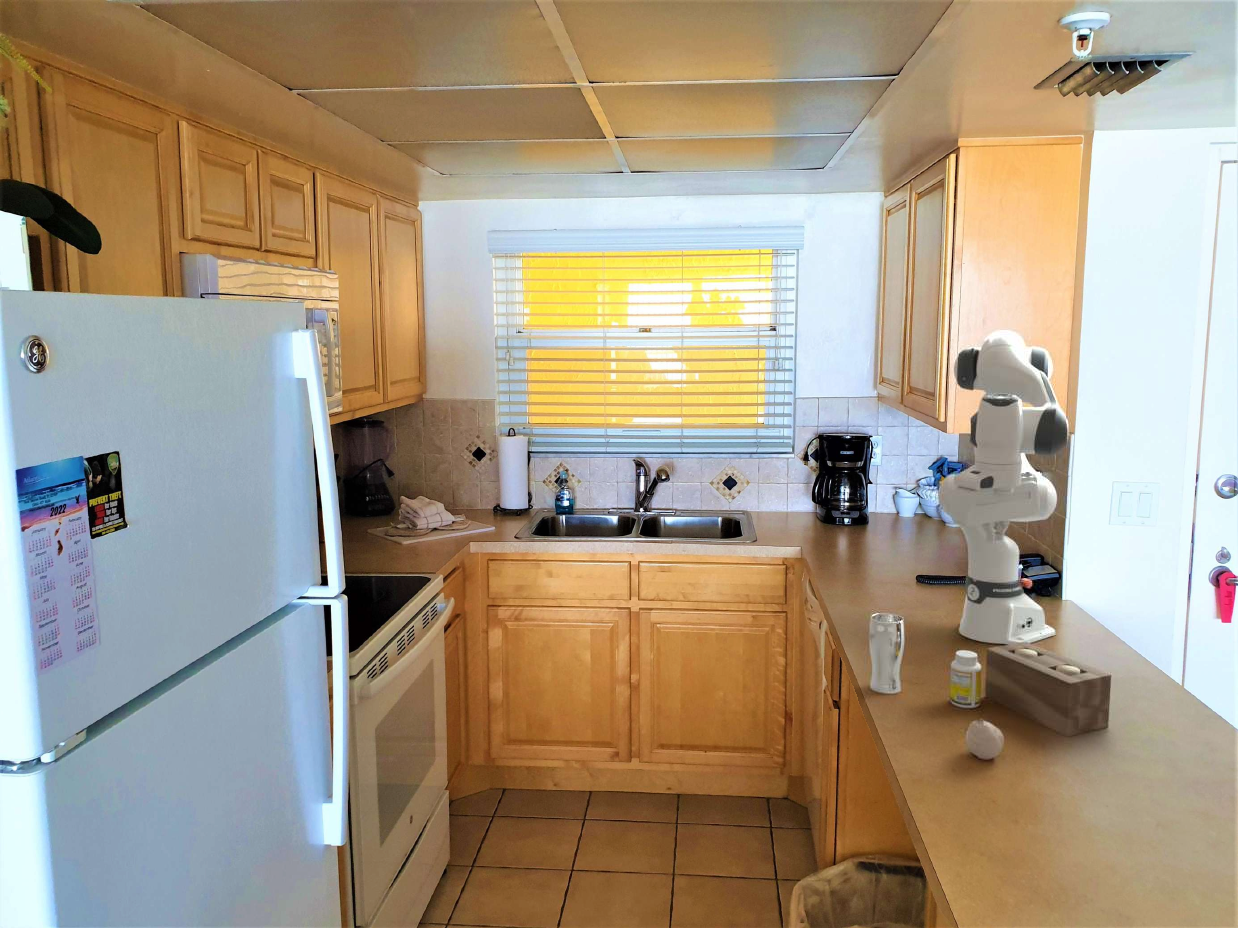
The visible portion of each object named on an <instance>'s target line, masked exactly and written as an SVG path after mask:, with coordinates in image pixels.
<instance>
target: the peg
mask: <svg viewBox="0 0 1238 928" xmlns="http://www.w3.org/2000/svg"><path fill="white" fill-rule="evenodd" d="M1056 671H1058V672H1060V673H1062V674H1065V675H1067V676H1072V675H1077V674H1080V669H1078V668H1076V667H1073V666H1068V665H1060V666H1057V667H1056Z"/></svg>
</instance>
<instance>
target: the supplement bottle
mask: <svg viewBox="0 0 1238 928" xmlns="http://www.w3.org/2000/svg"><path fill="white" fill-rule="evenodd" d="M981 686H982V665H981V664H980V663H979V662H978V654H977V653H976V652H974V651H972V650H964V649H963V650H957V651H956V652H955V657H954V660H953V661H952V662H951V663H950V687H949V688H950V689H949V690H950V691H949V698H950V699H949V700H950V702H951V704H952V705H954V706H956V707H958V708H962V709H974V708H978V707H979V706H980V705H981V694H982V693H981V689H982V687H981Z"/></svg>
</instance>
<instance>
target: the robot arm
mask: <svg viewBox="0 0 1238 928" xmlns="http://www.w3.org/2000/svg"><path fill="white" fill-rule="evenodd" d="M957 355H958V356H957V357H956V359H955V361H954V365H953V374H954V378H955V381H956V383H957V385H958V386H959V387H960V388H961V389H963V390H968V391H974V390H978V391H983V392H985V393H984V394H983V396H982V397H981V399H980V402H979V405H978V410H977V412H975V413H974V414H973V415H972V416H971V417H970V420H969V421H970V438H969V439H970V440H969V443H971V444H972V446H973V454H974V464H973V465H971V466H970V467H968V468H967V469H963V471H960V472H959V473H954V474H949V475H947V476H946V477H945V478H944V479H943V480H942V481H941V483H940V485H939V487H938V491H937V499H938V503H939V505H940V508H941V509H942V511H943V512H944V513H945V514H946V515H947V516H949V517H950V518H951V519H952V522H953V524H955V525H958V526H959V528H960V529H961V531H962V532H963V534H964V537H965V541H966V545H967V546H966V547H967V556H968V557H967V558H968V559H967V560H968V561H967V562H968V568H967V569H968V570H967V572H968V573H967V574H966V577H965V591H966V595H965V601H964V606H963V612H962V618H961V620H960V625H959V628H958V633H959V634H960V635H961V636H963V637H965V638H968V639H971V640H973V641H978V642H982V643H990V644H1002V645H1003V644H1004V645H1010V644H1016V643H1021V642H1028V643H1030V644H1032V643H1035V642H1037V641H1040V640H1043V639H1046V638H1050V637H1052V636H1055V635H1056V630H1055V629H1054V628H1053V627H1051V626H1049V625H1048V624H1046V620H1045V619H1046V618H1045V612H1044V608H1043V607H1042V606H1040V605H1039V604H1038V603H1036V602H1035V600H1034V599H1031V598H1030V597H1029V595H1027V594H1026V593H1024V589H1023V587H1024V588H1027V589H1031V588H1032V586H1033V581H1032V580H1031V579H1027V578H1021V579H1020V578H1019V563H1020V549H1019V546H1018V545H1017V543H1016V542H1015V541H1014V540H1013V539H1011V538H1010V537H1008V536H1006V535H1005V533H1006V531H1007V530H1008V527H1009V526H1010V522H1023V523H1026V522H1027V523H1028V522H1035V521H1043V520H1047V519H1048V518H1049V517H1050V516H1051V515H1052V514H1053V513H1054V511H1055V509H1056V507H1057V502H1058V495H1057V494H1058V493H1057V491H1056V488H1055V486H1054V485H1053V483H1052V482H1051V481H1050V480H1049V479H1048V478H1046V477H1044V476H1042V475H1041V474H1039V473H1038V472H1037V471H1036V470H1035V469H1034V468H1033V467H1032V465H1031V464H1030V462H1029V461H1028V459H1027V456H1026V454H1029V455H1037V456H1046V457H1053V456H1054V455H1055V454H1057V453H1059V452H1061V451H1062V450H1063V449H1065V447H1066V446H1067V443H1068V440H1069V433H1070V428H1069V427H1070V426H1069V422H1068V419H1067V416H1066V413H1064V411H1063V410H1062V408H1061V407H1060V405H1059V402H1058V398H1057V397H1056V394H1055V393H1054V390H1053V387H1052V385H1051V382H1050V381H1049V380H1050V378H1051V375H1052V372H1053V363H1052V362H1053V361H1052V359H1051V357H1050V355H1049V352H1048V351H1047V350H1046V349H1045V348H1041V347H1038V346H1031V347H1029V346H1028V347H1027V346H1026V344H1025V342H1024V340H1023V338H1022V337H1021V336H1020V335H1019V334H1018V333H1016V332H1014V331H1011V330H1006V329H1003V330H997V331H995V332H992V333H990V334H989V335H988V336H987V337H986V338H985V339H984V341H983V343H982V344H981V346H980V347H975V346H974V347H969V348H964V349H962V350H961V351H960V352H959V353H958V354H957ZM1023 403H1025V404H1028V405H1031V406H1032V407H1031V406H1030V407H1029V406H1027V407H1025V406H1024V407H1023ZM996 524H997V526H996ZM995 527H996V529H995Z"/></svg>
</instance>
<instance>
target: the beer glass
mask: <svg viewBox="0 0 1238 928" xmlns="http://www.w3.org/2000/svg"><path fill="white" fill-rule="evenodd" d="M905 632H906V631H905V619H904V617H903V616H901V615H898V614H896V613H888V612H879V613H874V614H871V615H870V621H869V629H868V643H869V644H868V646H869V652H870V653H869V654H870V660H871V666H872V667H871V669H872V673H871V674H872V675H871V680H870V684H869V688H870V689H871V691H873V692H876V693H877V694H878V693H879V694H883V695H894V694H897V693H899V692H901V691H902V687H901V686H902V685H901V679H900V669H901V664H902V659H903V655H904V648H905Z"/></svg>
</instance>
